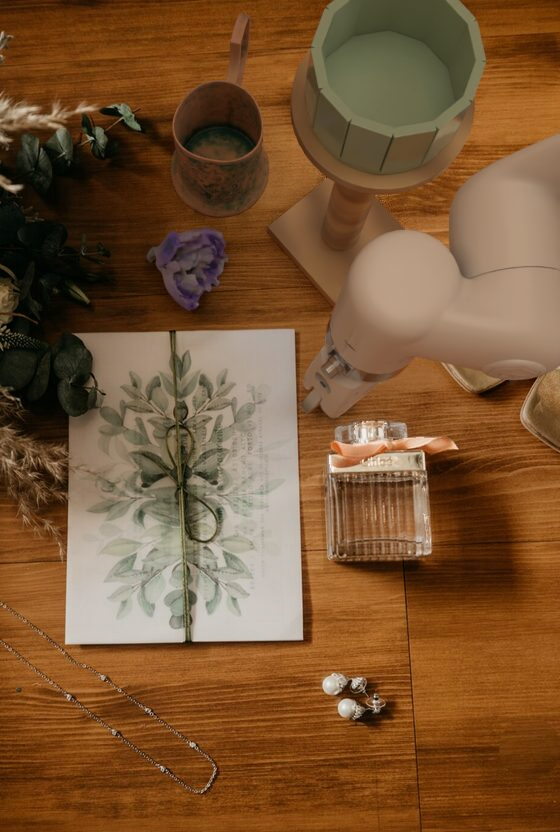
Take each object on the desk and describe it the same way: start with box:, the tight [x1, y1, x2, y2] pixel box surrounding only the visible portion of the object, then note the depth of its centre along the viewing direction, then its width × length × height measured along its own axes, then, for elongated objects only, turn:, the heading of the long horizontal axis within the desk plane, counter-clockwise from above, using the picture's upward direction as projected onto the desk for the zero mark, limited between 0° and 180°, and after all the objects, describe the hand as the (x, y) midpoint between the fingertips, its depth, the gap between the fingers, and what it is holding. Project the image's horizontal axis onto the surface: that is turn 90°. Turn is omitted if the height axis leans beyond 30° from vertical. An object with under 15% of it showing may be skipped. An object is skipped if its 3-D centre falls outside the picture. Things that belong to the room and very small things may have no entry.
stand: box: [266, 48, 476, 309], centre depth 71 cm, size 15×15×26 cm
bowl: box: [304, 0, 487, 175], centre depth 56 cm, size 13×13×6 cm
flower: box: [146, 227, 229, 312], centre depth 80 cm, size 9×9×10 cm
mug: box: [170, 12, 270, 218], centre depth 79 cm, size 12×18×12 cm, turn 166°
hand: (341, 385), depth 76 cm, fingers closed
